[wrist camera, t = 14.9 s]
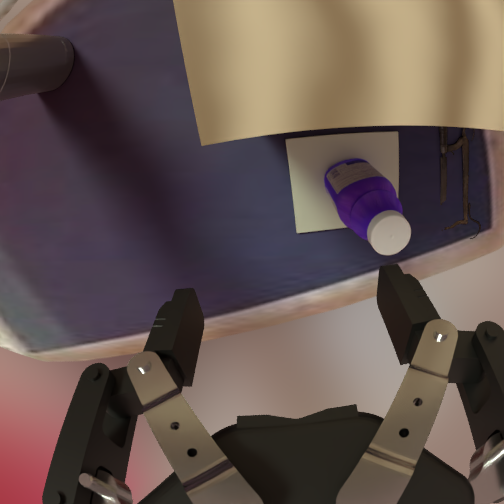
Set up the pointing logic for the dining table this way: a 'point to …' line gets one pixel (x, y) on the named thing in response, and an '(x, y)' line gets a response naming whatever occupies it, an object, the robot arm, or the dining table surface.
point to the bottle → (368, 205)
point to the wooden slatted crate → (341, 64)
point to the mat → (321, 159)
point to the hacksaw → (465, 151)
